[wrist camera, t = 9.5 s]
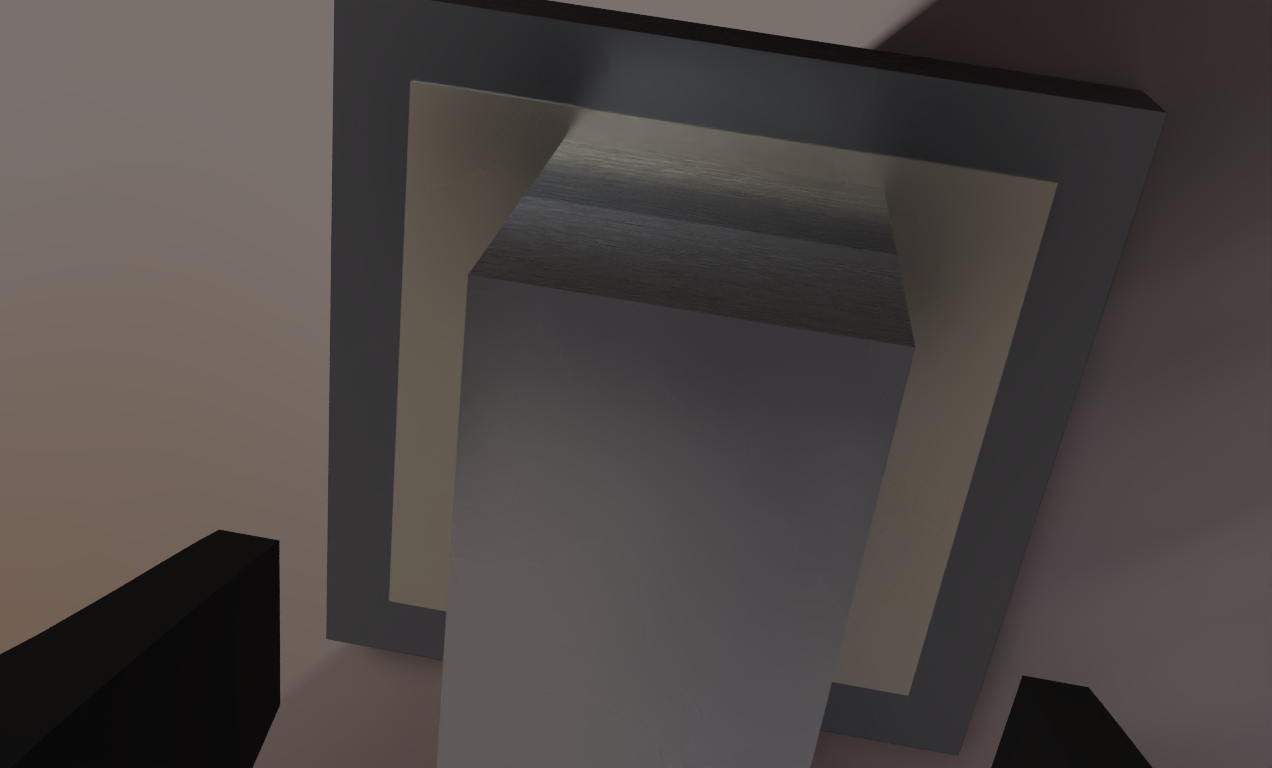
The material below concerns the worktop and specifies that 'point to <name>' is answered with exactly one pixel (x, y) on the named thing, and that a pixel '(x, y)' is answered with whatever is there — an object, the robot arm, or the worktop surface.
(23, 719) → the robot arm
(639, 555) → the block
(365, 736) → the worktop surface
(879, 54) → the stand
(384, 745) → the worktop surface
